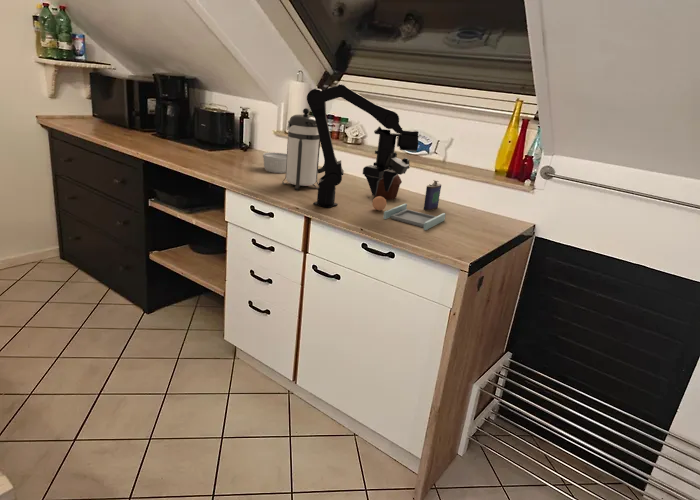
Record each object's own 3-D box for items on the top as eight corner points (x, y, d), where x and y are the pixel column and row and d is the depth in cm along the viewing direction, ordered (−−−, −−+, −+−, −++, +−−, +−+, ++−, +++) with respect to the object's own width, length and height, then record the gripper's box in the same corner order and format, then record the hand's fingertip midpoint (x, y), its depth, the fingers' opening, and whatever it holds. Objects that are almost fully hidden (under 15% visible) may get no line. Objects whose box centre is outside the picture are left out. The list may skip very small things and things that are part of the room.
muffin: (390, 202, 187) (394, 176, 184) (365, 195, 192) (368, 170, 189) (404, 197, 197) (407, 172, 193) (380, 191, 202) (383, 167, 198)
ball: (381, 213, 171) (383, 199, 170) (368, 209, 174) (370, 196, 172) (388, 210, 175) (389, 196, 174) (375, 207, 178) (377, 193, 176)
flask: (433, 205, 189) (437, 178, 185) (440, 207, 187) (444, 179, 183) (421, 209, 182) (426, 181, 178) (428, 211, 180) (433, 182, 176)
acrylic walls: (425, 230, 158) (427, 222, 157) (383, 218, 165) (384, 211, 164) (444, 220, 171) (445, 213, 170) (404, 210, 178) (405, 203, 177)
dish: (423, 227, 160) (423, 224, 160) (390, 218, 166) (391, 215, 166) (437, 220, 170) (437, 216, 170) (406, 212, 176) (406, 209, 175)
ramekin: (295, 169, 225) (296, 154, 222) (288, 175, 212) (289, 159, 210) (266, 166, 226) (267, 151, 223) (258, 171, 213) (259, 155, 211)
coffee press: (316, 193, 188) (323, 112, 177) (276, 187, 190) (280, 107, 180) (327, 184, 204) (334, 109, 194) (290, 178, 206) (295, 104, 196)
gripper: (394, 155, 156) (388, 202, 161) (419, 150, 171) (412, 194, 176) (364, 149, 161) (359, 195, 166) (390, 145, 176) (385, 187, 181)
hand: (380, 193), depth 172 cm, fingers open, 9 cm apart
